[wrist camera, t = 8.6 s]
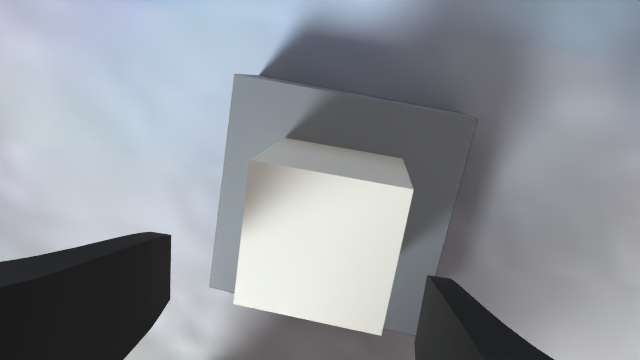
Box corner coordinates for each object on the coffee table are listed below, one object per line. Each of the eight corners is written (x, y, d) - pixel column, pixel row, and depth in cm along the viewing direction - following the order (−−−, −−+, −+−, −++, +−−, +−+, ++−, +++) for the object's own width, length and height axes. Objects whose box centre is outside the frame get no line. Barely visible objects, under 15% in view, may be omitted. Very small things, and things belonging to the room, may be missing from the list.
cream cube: (379, 267, 18) (381, 335, 13) (270, 245, 18) (233, 304, 14) (402, 158, 17) (413, 189, 12) (284, 137, 17) (249, 159, 12)
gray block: (411, 292, 22) (418, 336, 19) (237, 253, 23) (209, 287, 19) (458, 111, 20) (477, 119, 16) (260, 75, 21) (234, 74, 17)
